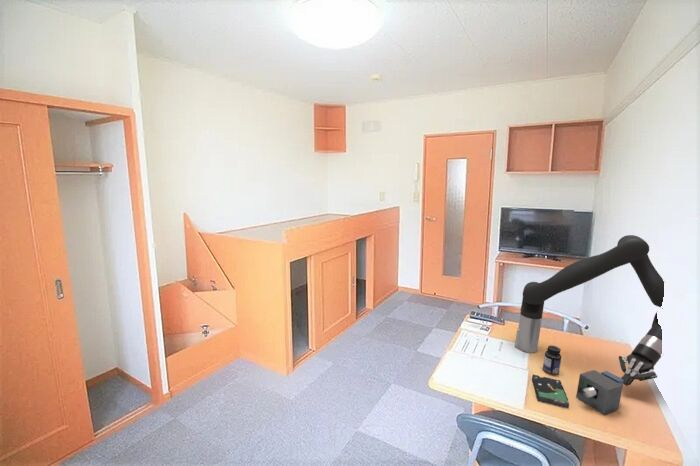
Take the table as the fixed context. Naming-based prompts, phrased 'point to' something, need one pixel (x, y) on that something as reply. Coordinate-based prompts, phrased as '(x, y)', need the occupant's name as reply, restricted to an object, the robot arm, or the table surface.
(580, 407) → the table surface
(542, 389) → the disk drive
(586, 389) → the silver metal piece
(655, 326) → the robot arm
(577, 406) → the table surface
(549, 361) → the pill bottle
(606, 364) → the table surface
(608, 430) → the table surface
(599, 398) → the bearing block
